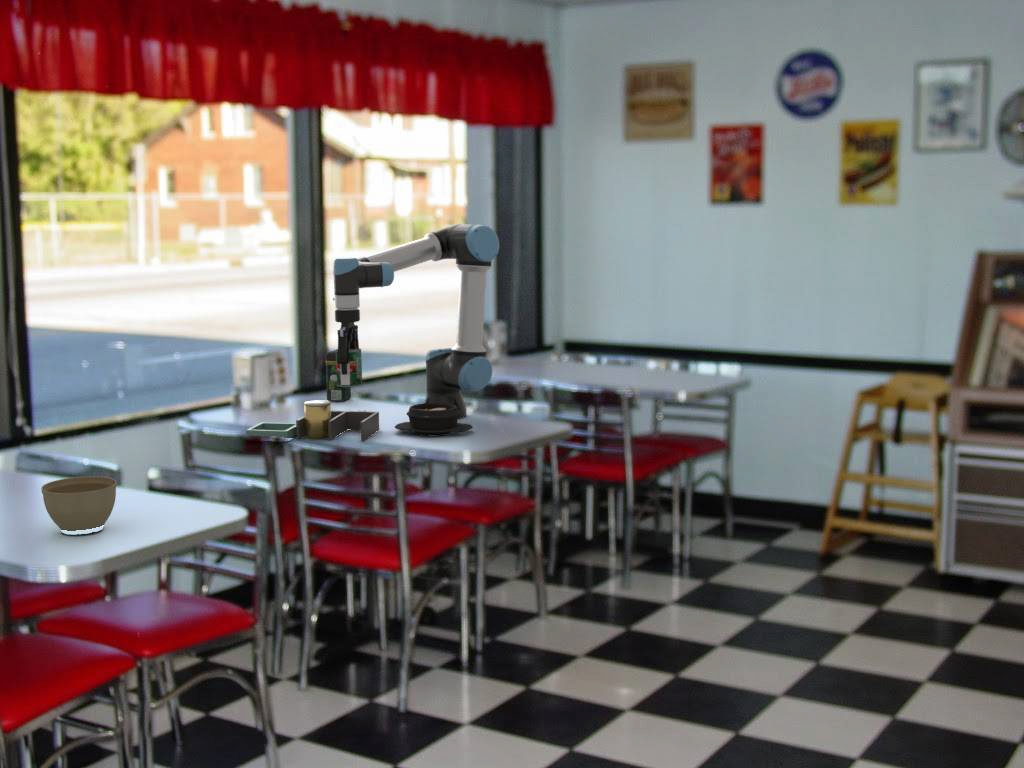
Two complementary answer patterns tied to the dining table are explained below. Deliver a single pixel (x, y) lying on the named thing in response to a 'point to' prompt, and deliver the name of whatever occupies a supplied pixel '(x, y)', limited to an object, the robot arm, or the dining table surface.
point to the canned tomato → (351, 368)
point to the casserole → (433, 419)
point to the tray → (274, 430)
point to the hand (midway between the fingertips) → (349, 382)
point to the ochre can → (317, 419)
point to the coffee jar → (335, 381)
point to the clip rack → (346, 423)
